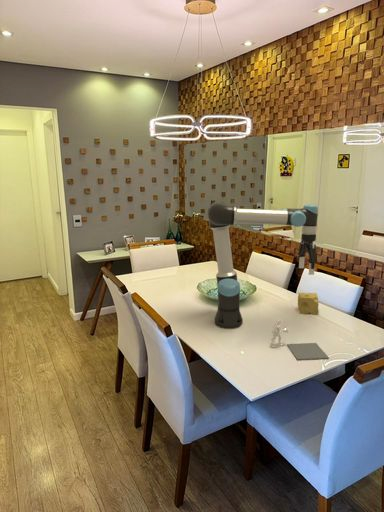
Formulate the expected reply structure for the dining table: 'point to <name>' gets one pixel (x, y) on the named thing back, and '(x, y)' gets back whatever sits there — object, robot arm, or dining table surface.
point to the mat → (307, 351)
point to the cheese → (308, 303)
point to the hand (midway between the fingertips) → (306, 271)
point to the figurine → (277, 334)
